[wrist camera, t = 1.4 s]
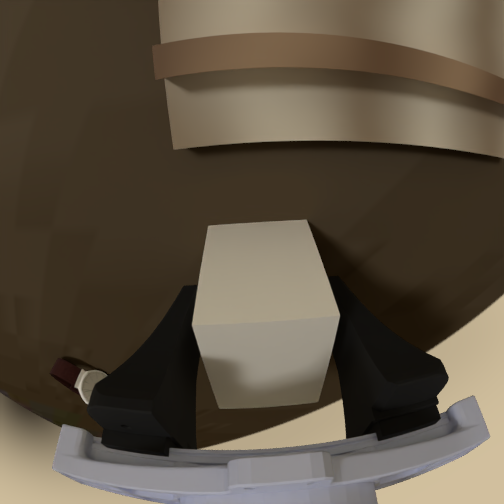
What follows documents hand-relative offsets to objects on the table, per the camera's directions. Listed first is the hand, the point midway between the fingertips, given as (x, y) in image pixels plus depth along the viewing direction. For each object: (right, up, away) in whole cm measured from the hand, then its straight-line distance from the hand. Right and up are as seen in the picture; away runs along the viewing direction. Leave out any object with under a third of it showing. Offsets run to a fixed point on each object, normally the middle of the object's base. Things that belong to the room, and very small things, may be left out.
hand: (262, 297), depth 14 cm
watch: (-14, -9, +8) cm, 19 cm away
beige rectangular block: (0, +1, +1) cm, 2 cm away
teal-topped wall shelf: (+4, +13, -7) cm, 15 cm away
